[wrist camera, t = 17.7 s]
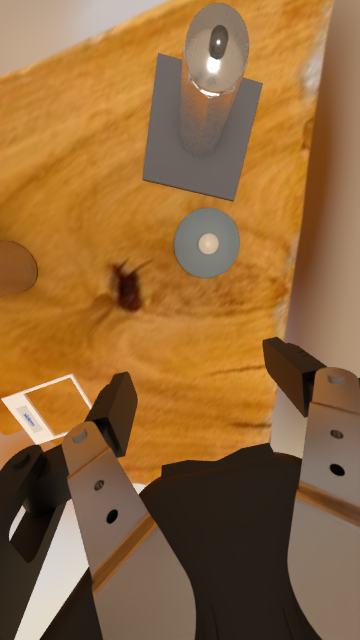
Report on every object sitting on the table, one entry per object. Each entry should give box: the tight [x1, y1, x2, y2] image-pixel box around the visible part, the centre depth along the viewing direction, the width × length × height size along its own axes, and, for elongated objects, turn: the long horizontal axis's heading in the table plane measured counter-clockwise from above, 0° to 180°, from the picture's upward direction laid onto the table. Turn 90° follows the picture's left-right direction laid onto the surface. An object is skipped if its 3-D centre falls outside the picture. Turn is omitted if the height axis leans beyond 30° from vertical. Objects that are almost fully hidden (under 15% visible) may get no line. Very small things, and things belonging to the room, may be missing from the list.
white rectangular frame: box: [1, 373, 93, 445], centre depth 48 cm, size 15×1×18 cm
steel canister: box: [179, 3, 249, 158], centre depth 25 cm, size 6×6×15 cm
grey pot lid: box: [174, 208, 240, 278], centre depth 36 cm, size 12×12×3 cm
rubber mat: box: [143, 53, 263, 201], centre depth 33 cm, size 16×16×1 cm
